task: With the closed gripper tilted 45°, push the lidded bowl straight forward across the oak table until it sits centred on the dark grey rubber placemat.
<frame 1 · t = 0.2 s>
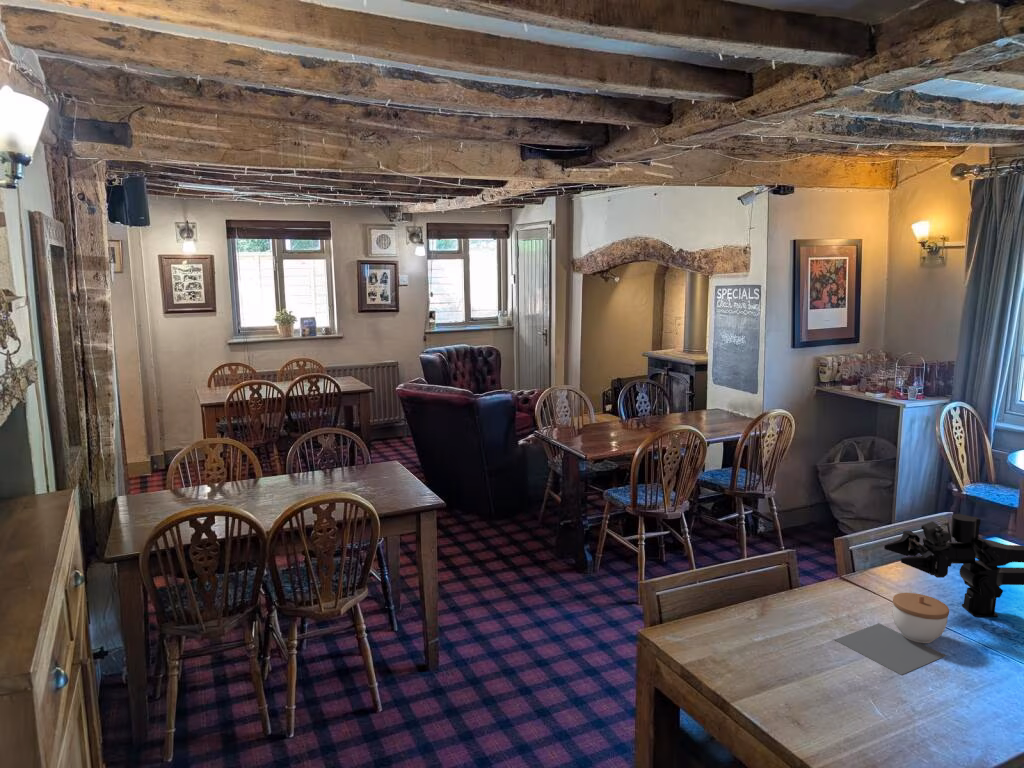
hand: (892, 553, 195), 17 cm above the table, tool horizontal, fingers open, 9 cm apart
lidded bowl: (916, 637, 184), on the table, touching placemat
placemat: (889, 647, 178), on the table
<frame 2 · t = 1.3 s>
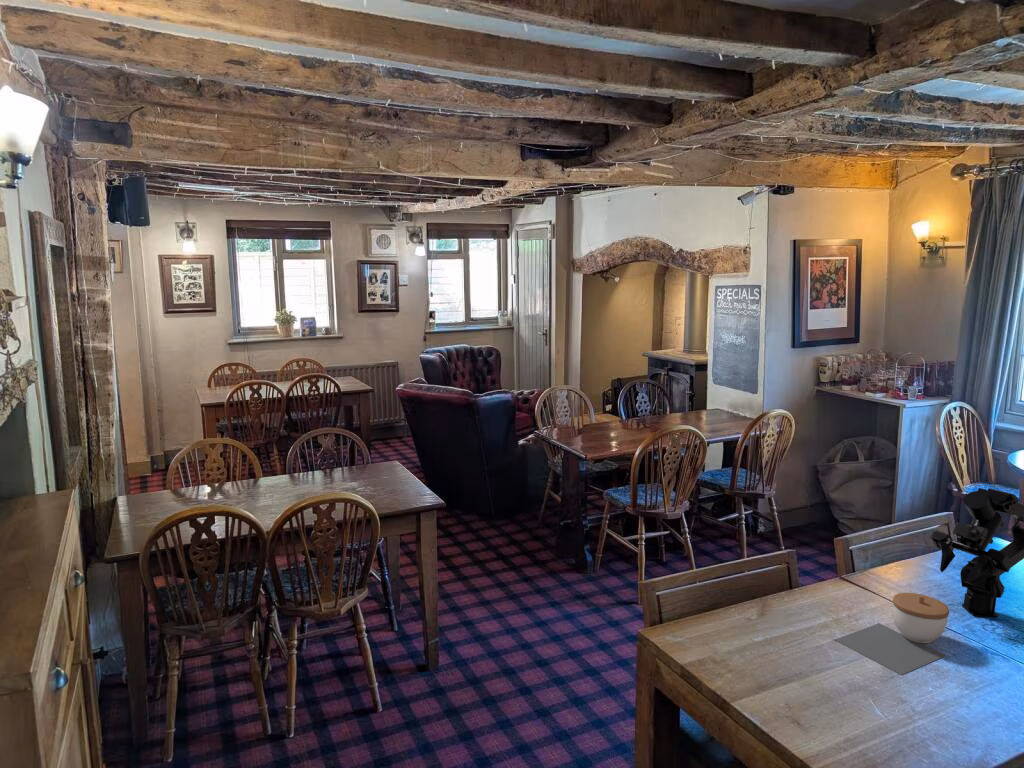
hand: (954, 576, 188), 14 cm above the table, tool tilted 45°, fingers open, 7 cm apart
nothing on the table moved.
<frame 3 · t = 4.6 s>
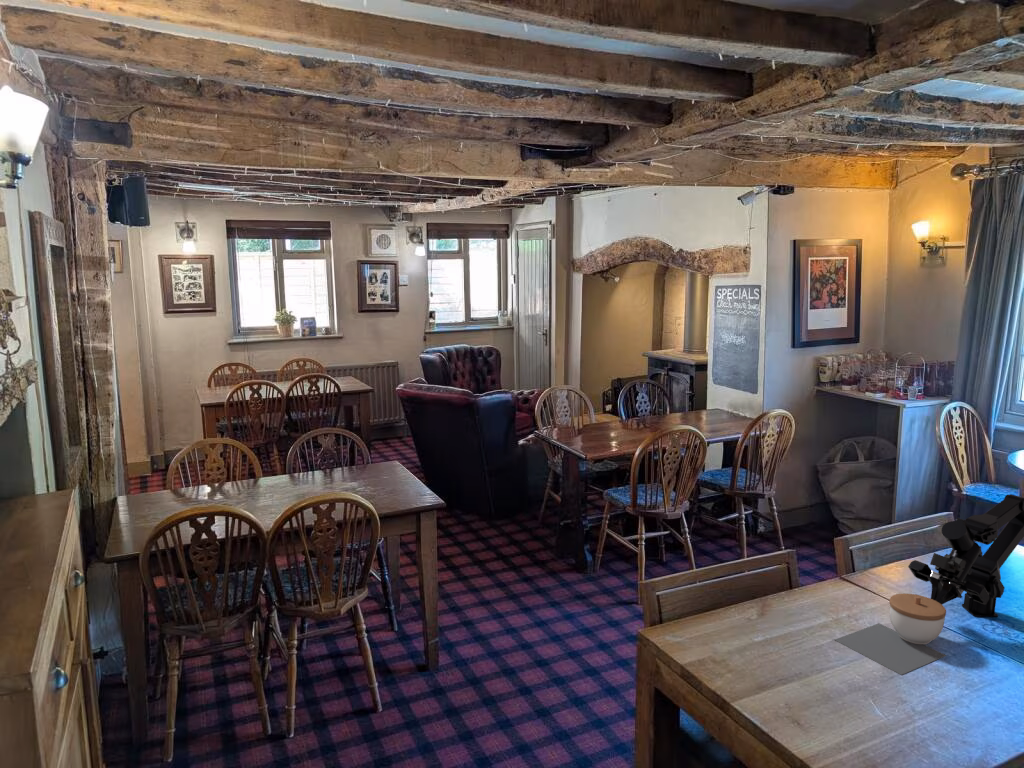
hand: (931, 607, 185), 7 cm above the table, tool tilted 45°, fingers closed, pressing on lidded bowl
lidded bowl: (914, 638, 183), on the table, touching gripper, placemat
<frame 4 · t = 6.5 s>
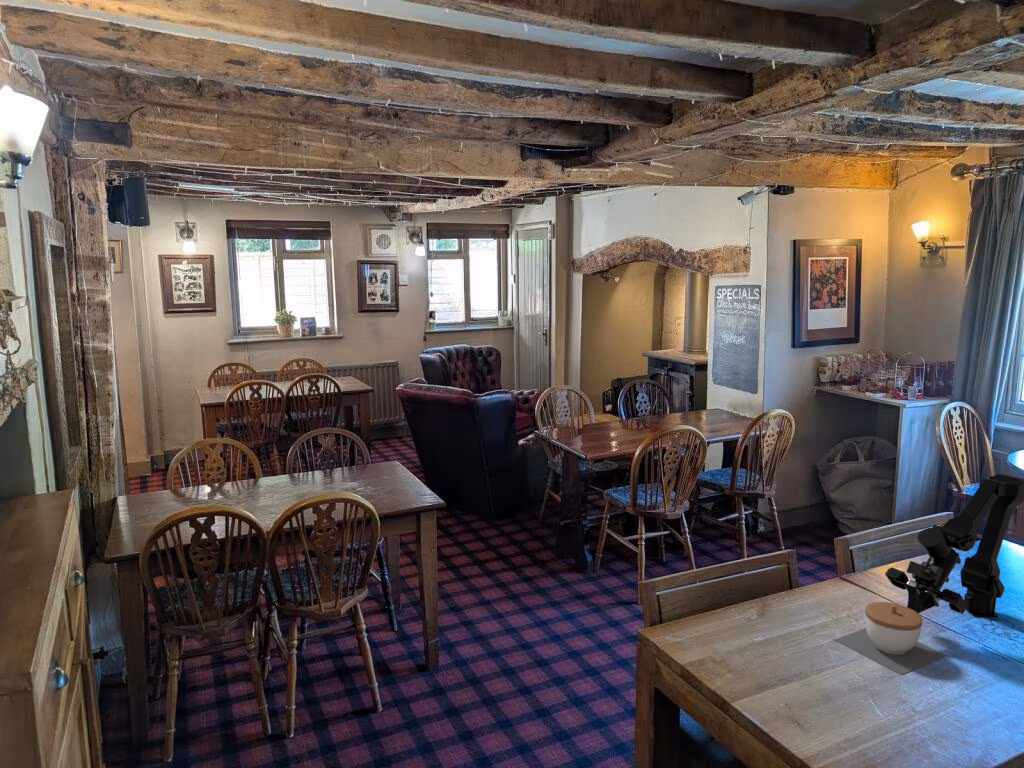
hand: (908, 616, 180), 7 cm above the table, tool tilted 45°, fingers closed, pressing on lidded bowl
lidded bowl: (890, 647, 178), resting on placemat, touching gripper
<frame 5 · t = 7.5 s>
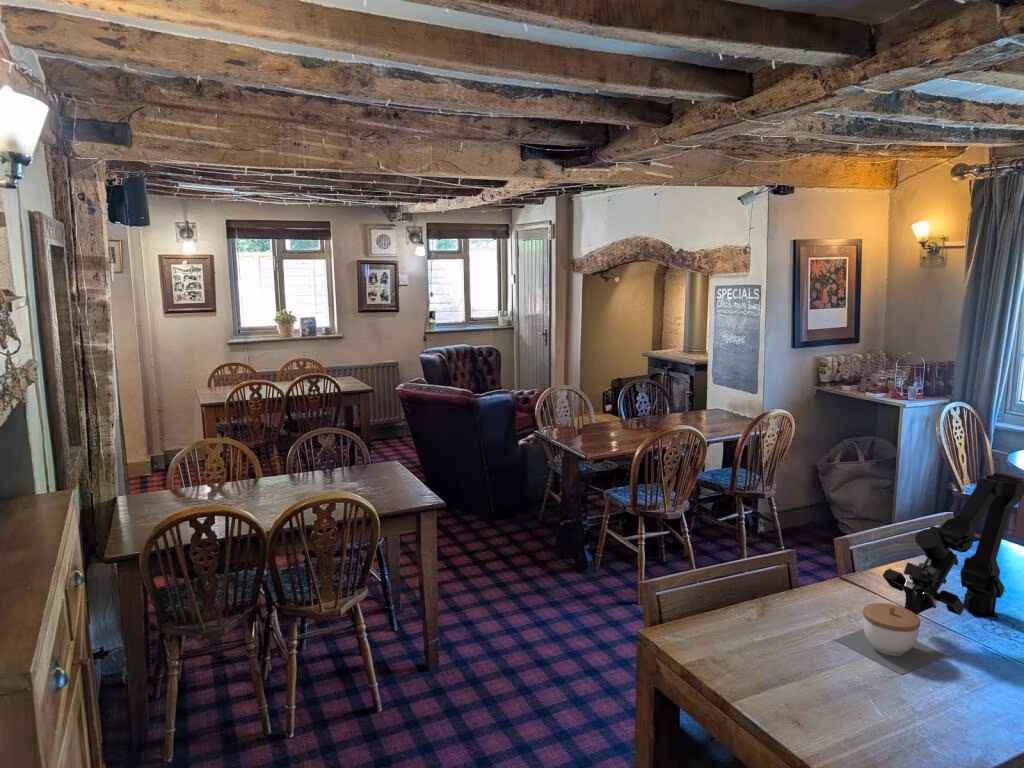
hand: (905, 618, 180), 7 cm above the table, tool tilted 45°, fingers closed, pressing on lidded bowl
lidded bowl: (887, 649, 178), resting on placemat, touching gripper
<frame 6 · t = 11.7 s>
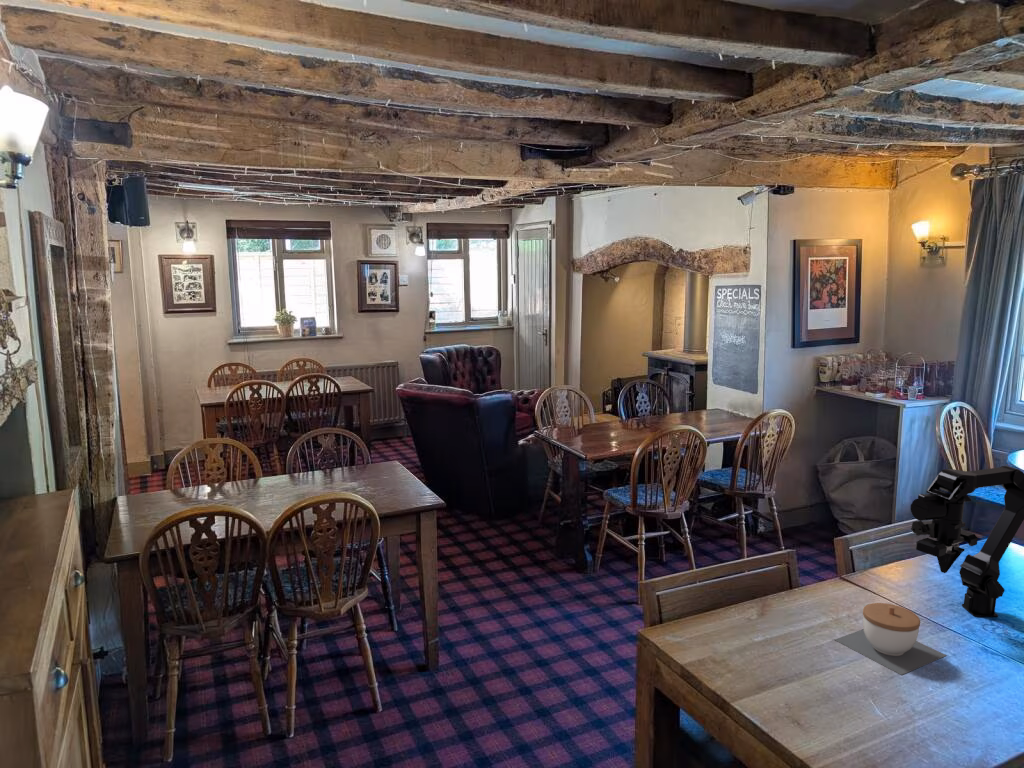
hand: (943, 572, 192), 13 cm above the table, tool pointing down, fingers closed
lidded bowl: (887, 649, 178), resting on placemat
at the end: lidded bowl 0.8 cm from the placemat (horizontally); lidded bowl tilted 0° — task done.
